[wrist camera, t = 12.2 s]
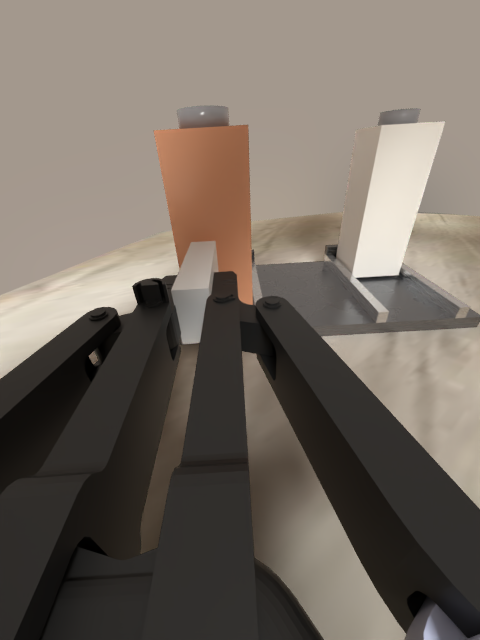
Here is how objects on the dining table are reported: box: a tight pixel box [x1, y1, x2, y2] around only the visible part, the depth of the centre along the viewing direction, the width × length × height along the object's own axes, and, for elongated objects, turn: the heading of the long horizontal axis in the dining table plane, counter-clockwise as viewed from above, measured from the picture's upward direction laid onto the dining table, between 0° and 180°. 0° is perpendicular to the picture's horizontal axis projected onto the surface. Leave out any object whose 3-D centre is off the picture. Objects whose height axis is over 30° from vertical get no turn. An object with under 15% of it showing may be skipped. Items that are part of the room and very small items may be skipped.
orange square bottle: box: [154, 106, 253, 305], centre depth 19 cm, size 5×5×14 cm
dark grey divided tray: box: [179, 245, 480, 344], centre depth 27 cm, size 26×14×3 cm, turn 92°
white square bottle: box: [336, 108, 445, 278], centre depth 26 cm, size 5×5×14 cm
